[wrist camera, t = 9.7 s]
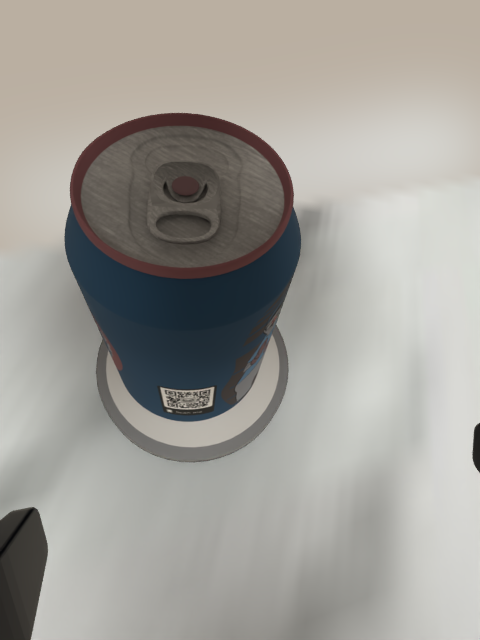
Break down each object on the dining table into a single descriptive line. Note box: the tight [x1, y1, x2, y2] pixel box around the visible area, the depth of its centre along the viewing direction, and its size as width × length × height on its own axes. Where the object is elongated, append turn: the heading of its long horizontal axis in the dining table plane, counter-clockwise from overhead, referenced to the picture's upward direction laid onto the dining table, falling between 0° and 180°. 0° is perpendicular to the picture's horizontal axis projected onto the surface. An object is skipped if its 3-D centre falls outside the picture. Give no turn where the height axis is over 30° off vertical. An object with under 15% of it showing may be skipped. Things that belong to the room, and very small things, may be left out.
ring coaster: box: [96, 325, 288, 462], centre depth 21 cm, size 10×10×1 cm
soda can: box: [65, 113, 301, 422], centre depth 15 cm, size 7×7×12 cm
